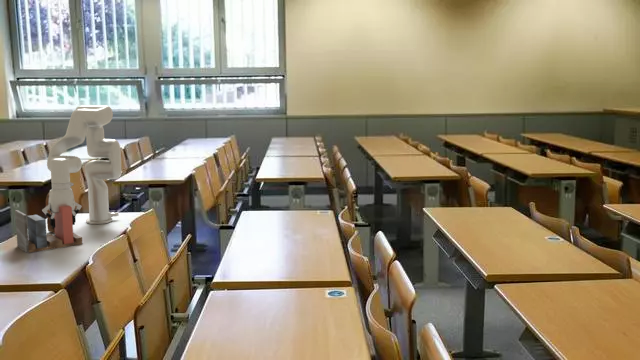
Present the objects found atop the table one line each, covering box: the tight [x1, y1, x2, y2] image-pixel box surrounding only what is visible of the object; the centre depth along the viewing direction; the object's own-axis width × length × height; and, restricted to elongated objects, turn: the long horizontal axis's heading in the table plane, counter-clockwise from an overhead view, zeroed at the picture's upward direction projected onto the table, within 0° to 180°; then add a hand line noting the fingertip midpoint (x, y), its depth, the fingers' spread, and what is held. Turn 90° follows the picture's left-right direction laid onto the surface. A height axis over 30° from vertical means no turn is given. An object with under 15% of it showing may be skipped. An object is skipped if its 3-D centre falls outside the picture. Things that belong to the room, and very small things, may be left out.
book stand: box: [14, 209, 83, 254], centre depth 262 cm, size 23×14×16 cm, turn 131°
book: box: [54, 206, 74, 244], centre depth 266 cm, size 4×12×16 cm, turn 41°
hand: (63, 225), depth 266 cm, fingers open, 7 cm apart
